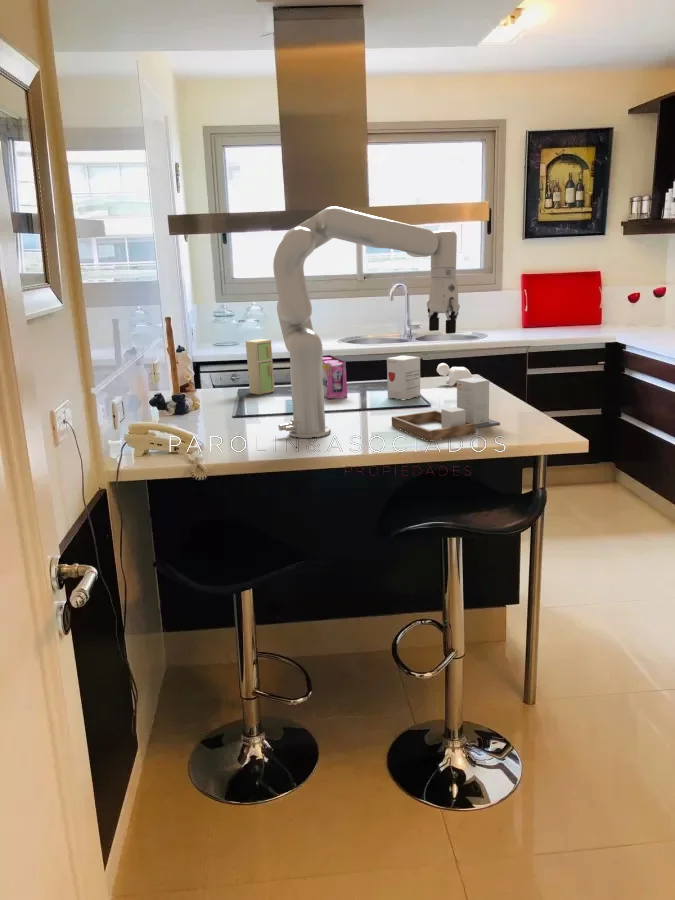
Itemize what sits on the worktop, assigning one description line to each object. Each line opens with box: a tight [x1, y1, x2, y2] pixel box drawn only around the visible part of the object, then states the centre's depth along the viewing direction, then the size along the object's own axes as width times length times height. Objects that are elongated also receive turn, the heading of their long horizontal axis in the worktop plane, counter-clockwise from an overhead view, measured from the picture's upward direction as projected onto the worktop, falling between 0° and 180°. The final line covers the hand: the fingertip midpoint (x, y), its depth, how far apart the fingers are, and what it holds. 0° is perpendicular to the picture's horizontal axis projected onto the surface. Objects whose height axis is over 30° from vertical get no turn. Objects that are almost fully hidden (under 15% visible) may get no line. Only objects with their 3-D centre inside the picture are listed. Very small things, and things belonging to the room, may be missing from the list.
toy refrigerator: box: [245, 338, 276, 395], centre depth 279 cm, size 8×7×21 cm
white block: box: [441, 406, 465, 428], centre depth 206 cm, size 5×5×7 cm
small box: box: [456, 377, 490, 424], centre depth 214 cm, size 8×6×13 cm
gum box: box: [322, 354, 348, 400], centre depth 272 cm, size 24×8×14 cm, turn 16°
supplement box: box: [386, 355, 421, 401], centre depth 258 cm, size 9×9×15 cm
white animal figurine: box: [436, 362, 474, 387], centre depth 280 cm, size 8×8×15 cm
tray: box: [391, 409, 477, 442], centre depth 210 cm, size 16×22×3 cm
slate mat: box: [476, 418, 501, 429], centre depth 216 cm, size 11×11×1 cm
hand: (442, 331), depth 213 cm, fingers open, 9 cm apart
